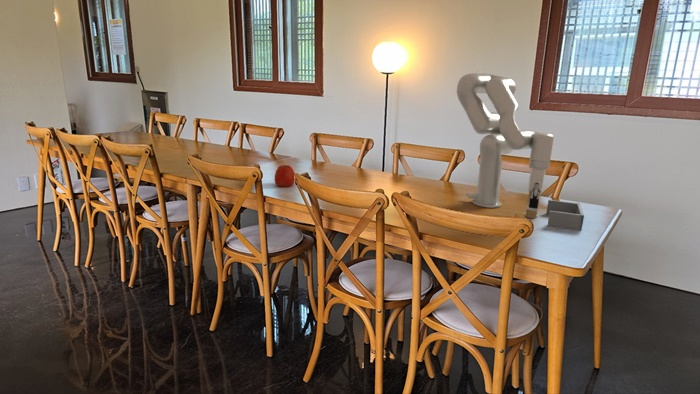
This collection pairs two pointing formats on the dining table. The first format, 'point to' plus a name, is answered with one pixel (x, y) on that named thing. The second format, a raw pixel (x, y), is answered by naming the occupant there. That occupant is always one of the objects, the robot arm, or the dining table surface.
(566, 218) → the open-side box
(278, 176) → the apple
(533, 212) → the sprinkles bottle
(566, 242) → the dining table surface
